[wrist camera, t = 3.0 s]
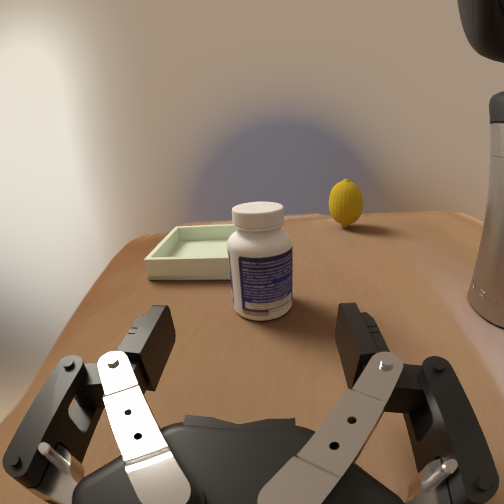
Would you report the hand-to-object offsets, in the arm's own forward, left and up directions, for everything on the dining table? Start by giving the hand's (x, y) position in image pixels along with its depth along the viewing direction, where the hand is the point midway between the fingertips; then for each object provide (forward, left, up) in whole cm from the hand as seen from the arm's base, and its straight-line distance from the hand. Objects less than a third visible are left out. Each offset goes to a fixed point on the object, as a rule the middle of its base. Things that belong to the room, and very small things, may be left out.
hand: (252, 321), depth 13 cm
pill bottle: (0, -11, -6) cm, 13 cm away
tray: (+7, -22, -6) cm, 24 cm away
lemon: (-13, -33, -6) cm, 36 cm away
